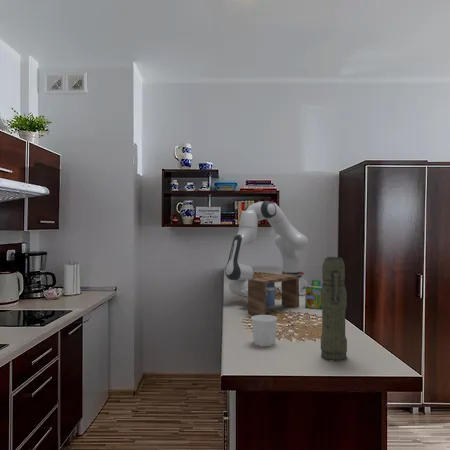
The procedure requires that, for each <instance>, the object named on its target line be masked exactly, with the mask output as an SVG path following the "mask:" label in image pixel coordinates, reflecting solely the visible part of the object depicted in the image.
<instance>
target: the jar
mask: <svg viewBox="0 0 450 450" xmlns="http://www.w3.org/2000/svg"><path fill="white" fill-rule="evenodd" d="M275 284H276V282H275V283H270V284H266V292H268V295H266V307H272V306H275V301H276V300H275V299H276V298H275V297H276V296H275V295H276V294H275V287H276V286H275Z"/></svg>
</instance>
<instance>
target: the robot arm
mask: <svg viewBox="0 0 450 450" xmlns="http://www.w3.org/2000/svg"><path fill="white" fill-rule="evenodd" d="M263 220H267V222H268V223H269V225H270V227H271V228H272V230H273V231H274V233H275V234H276V237H275V239H274V243H275V246H276V247H277V248H278V250H279V252H280V255H281V258H282V271H281V272H282V273H281V274H292V275H299V296H304V295H305V296H306V286H308V285H309V282H308V281H306V280H305V279H304V278H303V276H304V275H305V271H301V259H300V257H298V255H297V253H296V252H299V251H303V250H306V249H307V248H308V246H309V239H308V237H307V236H306V235H305V234H302V233H301V232H300V231H299V230H298V229H297V228H295V227H294V226H293V225H292V224H291V223H290V221H289V219H288V218H287V217H286V215H285V213H284V211H283V210H282V209H281V208H280V207H279V206H278V204H277V203H276V202H273V201H272V200H271V201H270V200H264V201H257V202H254V203H251V204H248V205H247V206H246V207H244V210H243V211H242V213H241V215H240V218H239V223H238V224H239V225H238V230H237V234H236V235H235V236H234V237H233V239H232V242H231V248H230V251H229V255H228V259H227V263H226V266H225V268H224V274H225V276H226V278H227V279H228V280H230V282H229V283H228V289H229V291H230V293H231V294H234V295H237V296H240V297H241V296H242V297H244V296H245V297H247V298H248V280H249V279H254V276H255V270H254V268H253V266H251V265H249V264H243V263H240V262H239V261H240V257H241V251H242V249H243V247H245V246H246V245H248V244H252V243H253V242H255V240H256V239H257V235H258V228H259V227H258V226H259V225H258V223H259V221H263ZM280 283H281V284H280V289H279V292H280V294H281V295H282V281H281V282H280ZM276 293H277V289H276V286H275V295H276ZM266 295H268V292H266Z"/></svg>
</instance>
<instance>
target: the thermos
mask: <svg viewBox="0 0 450 450" xmlns="http://www.w3.org/2000/svg"><path fill="white" fill-rule="evenodd" d="M321 270H322V271H321V272H322V290H321V308H322V309H321V329H322V330H321V336H320V351H321V352H320V353H321V354H320V356H322V357H321V358H322V359H324V360H326V359H327V361H330V360H333V361H332V362H342V361H341V360H343V361H346V360H347V352H348V339H347V337H346V310H347V307H348V303H347V300H348V299H347V294H348V292H347V289H346V284H345V281H346V277H345V276H346V273H345V272H346V267H345V261H344V260H343V258H342V257H340V256H326V257H325V258H324V261H323V263H322V269H321Z"/></svg>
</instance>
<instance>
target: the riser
mask: <svg viewBox="0 0 450 450" xmlns="http://www.w3.org/2000/svg"><path fill="white" fill-rule="evenodd" d="M281 281H282V294H281V306H284V307H290V308H295V309H298V308H300V295H299V275H292V274H282V273H281V274H274V275H268V276H263V277H262V276H261V277H256V278H255V277H254V278H253V279H249V280H248V297H247V313H248V315H253V316H256V315H267V305H266V284H270V283H275V284H276V283H279V282H280V283H281Z"/></svg>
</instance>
